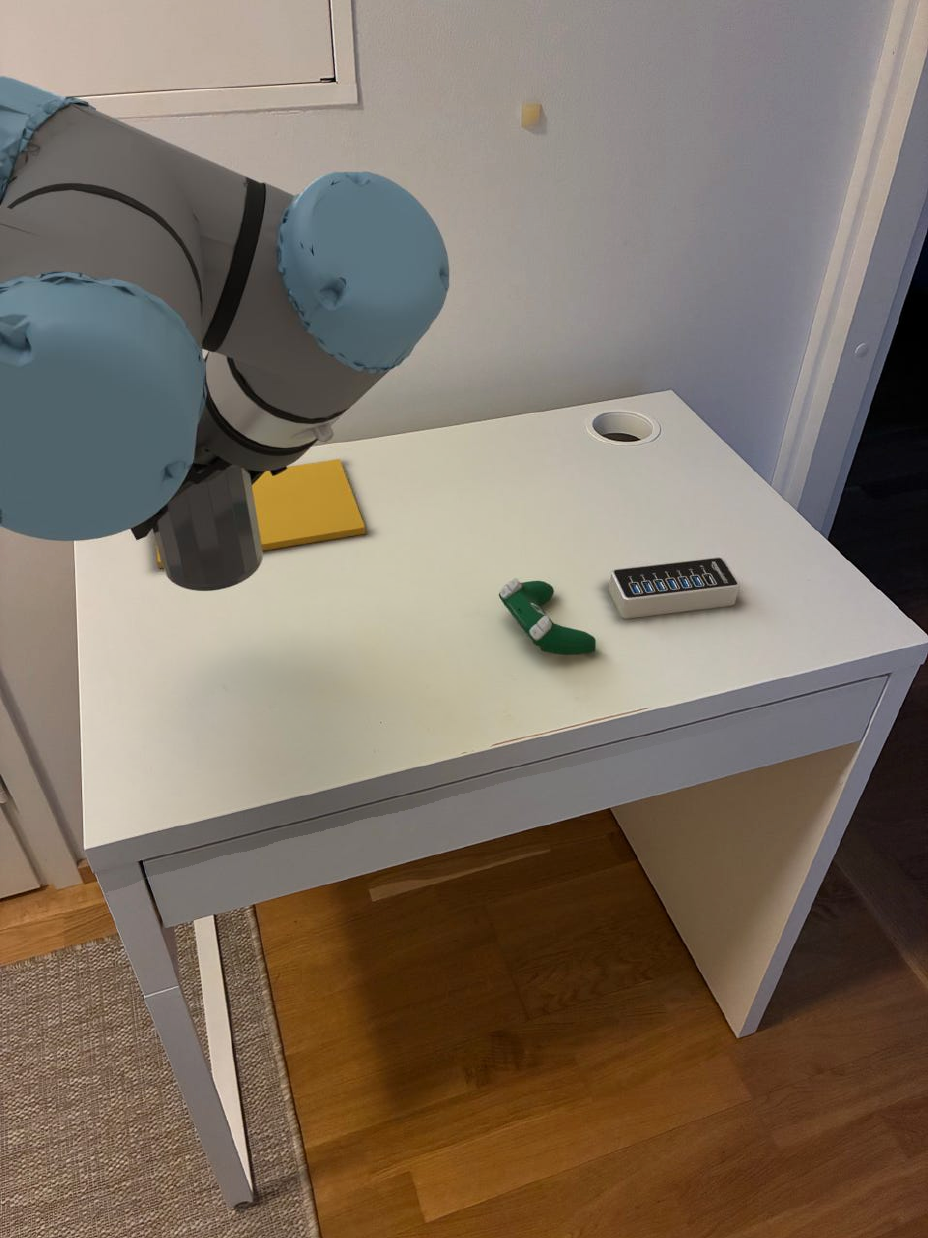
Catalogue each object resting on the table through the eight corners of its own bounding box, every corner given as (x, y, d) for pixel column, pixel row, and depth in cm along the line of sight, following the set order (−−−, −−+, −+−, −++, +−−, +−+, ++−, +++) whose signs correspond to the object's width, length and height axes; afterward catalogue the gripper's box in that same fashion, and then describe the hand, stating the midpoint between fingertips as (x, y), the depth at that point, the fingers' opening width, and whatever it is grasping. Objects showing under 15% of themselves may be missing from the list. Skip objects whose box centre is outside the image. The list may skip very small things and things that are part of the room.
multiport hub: (607, 588, 90) (610, 569, 88) (718, 575, 91) (722, 555, 90) (621, 619, 86) (624, 599, 85) (736, 605, 88) (741, 585, 86)
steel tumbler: (166, 599, 69) (136, 483, 63) (161, 539, 75) (132, 426, 68) (268, 581, 71) (249, 466, 64) (256, 524, 76) (238, 412, 70)
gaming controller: (524, 613, 90) (484, 591, 85) (551, 583, 89) (512, 559, 84) (574, 677, 83) (533, 656, 79) (603, 645, 82) (564, 623, 78)
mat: (159, 568, 91) (157, 561, 91) (152, 493, 100) (150, 487, 100) (365, 533, 96) (365, 527, 95) (340, 464, 105) (339, 458, 104)
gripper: (134, 518, 48) (78, 602, 68) (445, 389, 58) (317, 495, 78) (60, 382, 47) (26, 507, 67) (387, 276, 57) (273, 412, 77)
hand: (182, 501), depth 72 cm, fingers closed on steel tumbler, 7 cm apart
